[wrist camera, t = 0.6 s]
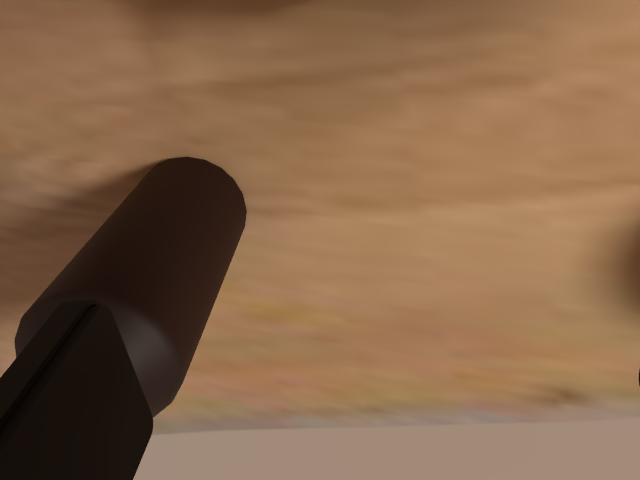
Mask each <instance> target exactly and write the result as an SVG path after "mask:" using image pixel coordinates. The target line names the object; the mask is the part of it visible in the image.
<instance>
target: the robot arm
mask: <svg viewBox="0 0 640 480" xmlns="http://www.w3.org/2000/svg"><path fill="white" fill-rule="evenodd" d="M639 385H640V371H639ZM152 430H153V417H152V413H151V411H150V408H149V406H148V403H147V400H146V398H145V395H144V393H143V390H142V388H141V385H140V383H139V380H138V378H137V375H136V372H135V370H134V367H133V365H132V362H131V360H130V357H129V355H128V352H127V350H126V347H125V344H124V342H123V339H122V337H121V334H120V332H119V329H118V327H117V324H116V322H115V319H114V316H113V314H112V312H111V310H110V308H109V307H108V306H105V305H104V306H102V305H101V303H100V302H99V301H98V300H96V299H86V300H76V301H67V302H62V303H61V304H60V305H59V306H58V307H57V308H56V310H55V311H54V312H53V313H52V315H51V316H50V317H49V318H48V320H47V321H46V322H45V323H44V325H43V326H42V327H41V328H40V329H39V331H38V332H37V333H36V334H35V336H34V337H33V338H32V339H31V341H30V342H29V343H28V344H27V346H26V347H25V348H24V349H23V351H22V352H21V353H20V354H19V356H18V357H17V358H16V359H15V361H14V362H13V363H12V364H11V365H10V367H9V368H8V369H7V370H6V372H5V373H4V374H3V375H2V377H1V378H0V480H133V478H134V476H135V473H136V471H137V468H138V466H139V464H140V461H141V459H142V456H143V454H144V451H145V449H146V447H147V444H148V442H149V439H150V437H151V434H152Z"/></svg>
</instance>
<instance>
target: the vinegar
mask: <svg viewBox="0 0 640 480" xmlns="http://www.w3.org/2000/svg"><path fill="white" fill-rule="evenodd" d="M246 212H247V211H246V206H245V202H244V198H243V194H242V192H241V190H240V189H239V187H238V185H237V184H236V182H235V181H234V179H233V178H232V177H231V176H229V175H228V174H227V173H226V172H225V171H224V170H223V169H222V168H220V167H218V166H216V165H214V164H212V163H210V162H208V161H206V160H203V159H197V158H191V157H182V158H175V159H169V160H167V161H165V162H163V163H161V164H159V165H157V166H155V167H154V168H153V169H152V170H151V171H150V172H149V173H148V174H147V175H146V176H145V177H144V179H143V180H142V181H141V182H140V183H139V184H138V185H137V187H136V188H135V189H134V190H133V191H132V192H131V193H130V195H129V196H128V197H127V198H126V199H125V200H124V201H123V202H122V204H121V205H120V206H119V207H118V208H117V209H116V210H115V212H114V213H113V214H112V215H111V216H110V217H109V218H108V220H107V221H106V222H105V223H104V224H103V225H102V226H101V227H100V229H99V230H98V231H97V232H96V233H95V234H94V235H93V237H92V238H91V239H90V240H89V241H88V242H87V243H86V245H85V246H84V247H83V248H82V249H81V250H80V251H79V252H78V254H77V255H76V256H75V257H74V258H73V259H72V260H71V262H70V263H69V264H68V265H67V266H66V267H65V268H64V270H63V271H62V272H61V273H60V274H59V275H58V276H57V277H56V279H55V280H54V281H53V282H52V283H51V284H50V285H49V287H48V288H47V289H46V290H45V291H44V292H43V293H42V295H41V296H40V297H39V298H38V299H37V300H36V301H35V303H34V304H33V305H32V306H31V307H30V308H29V309H28V310H27V312H26V313H25V314H24V315H23V317H22V318H21V321H20V324H19V327H18V330H17V334H16V337H15V349H16V358H17V357H18V356H19V354H20V353H21V352H22V351H23V349H24V348H25V347H26V346H27V344H28V343H29V342H30V341H31V339H32V338H33V337H34V336H35V334H36V333H37V332H38V331H39V329H40V328H41V327H42V326H43V325H44V323H45V322H46V321H47V320H48V318H49V317H50V316H51V315H52V313H53V312H54V311H55V310H56V308H57V307H58V306H59V305H60V304H61V303H62V302H67V301H76V300H86V299H96V300H98V301H99V302H100V303H101V305H102V306H104V305H105V306H108V307H109V308H110V310H111V312H112V314H113V316H114V319H115V322H116V324H117V327H118V329H119V332H120V334H121V337H122V339H123V342H124V344H125V347H126V350H127V352H128V355H129V357H130V360H131V362H132V365H133V367H134V370H135V372H136V375H137V378H138V380H139V383H140V385H141V388H142V390H143V393H144V395H145V398H146V400H147V403H148V406H149V408H150V411H151V413H152V417H155V416H156V415H157V414H158V413H160V412H161V411H162V410H163V409H164V408H166V407H167V406H168V405H169V404H171V403H172V401H173V400H174V398H175V396H176V394H177V392H178V390H179V389H180V387H181V385H182V383H183V381H184V378H185V376H186V373H187V371H188V368H189V366H190V363H191V361H192V358H193V355H194V353H195V350H196V348H197V345H198V343H199V340H200V338H201V335H202V333H203V330H204V328H205V325H206V323H207V320H208V318H209V315H210V313H211V310H212V308H213V305H214V303H215V300H216V298H217V295H218V293H219V290H220V288H221V285H222V283H223V280H224V277H225V275H226V272H227V270H228V267H229V265H230V262H231V260H232V257H233V255H234V252H235V250H236V247H237V245H238V242H239V240H240V237H241V235H242V232H243V230H244V227H245V221H246Z"/></svg>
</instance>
